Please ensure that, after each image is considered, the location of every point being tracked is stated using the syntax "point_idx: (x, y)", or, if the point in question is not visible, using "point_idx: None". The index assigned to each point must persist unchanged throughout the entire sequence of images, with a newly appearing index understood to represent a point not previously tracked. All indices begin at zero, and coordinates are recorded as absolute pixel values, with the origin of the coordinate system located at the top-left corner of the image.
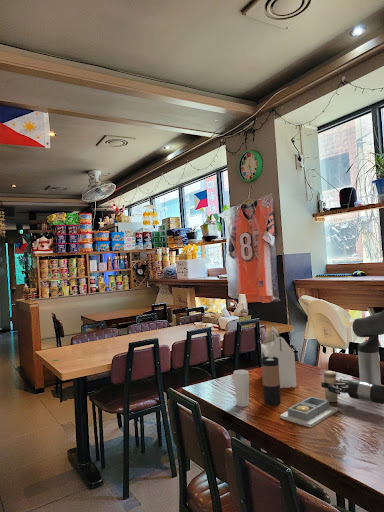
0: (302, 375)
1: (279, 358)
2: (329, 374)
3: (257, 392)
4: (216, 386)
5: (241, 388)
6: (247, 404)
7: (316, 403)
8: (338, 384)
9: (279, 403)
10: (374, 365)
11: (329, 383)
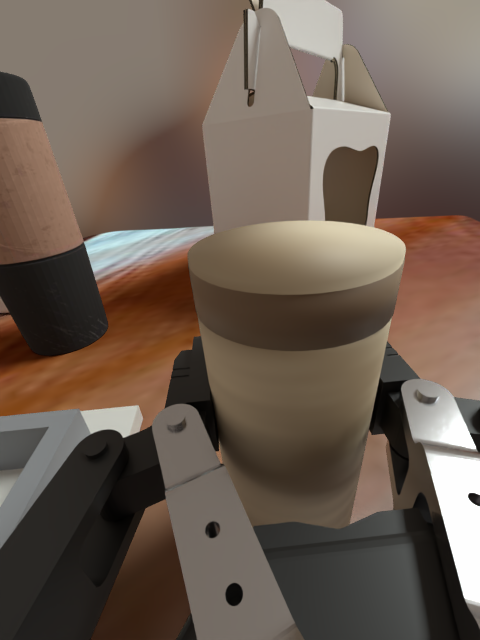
0: (422, 259)
1: (242, 148)
2: (197, 266)
3: (161, 277)
4: (149, 240)
5: None
6: (1, 308)
7: None
8: (186, 587)
9: (56, 350)
10: None
11: (205, 399)
